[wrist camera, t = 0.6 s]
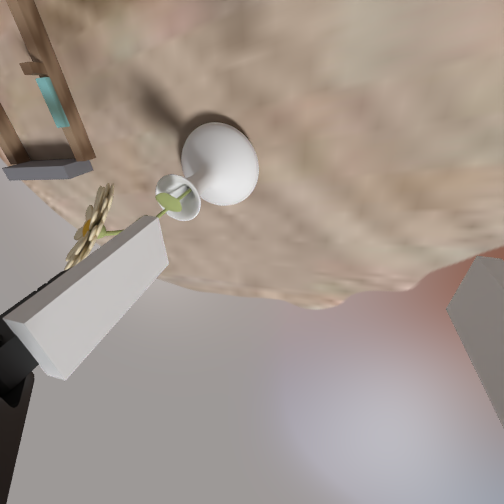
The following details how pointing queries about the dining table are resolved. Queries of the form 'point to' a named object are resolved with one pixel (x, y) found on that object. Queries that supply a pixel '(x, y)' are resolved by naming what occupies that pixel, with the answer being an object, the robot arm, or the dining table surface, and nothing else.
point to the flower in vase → (186, 183)
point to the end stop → (47, 169)
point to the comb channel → (43, 88)
